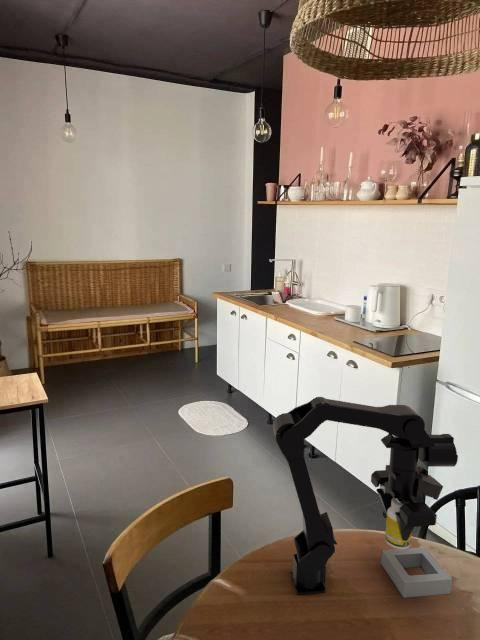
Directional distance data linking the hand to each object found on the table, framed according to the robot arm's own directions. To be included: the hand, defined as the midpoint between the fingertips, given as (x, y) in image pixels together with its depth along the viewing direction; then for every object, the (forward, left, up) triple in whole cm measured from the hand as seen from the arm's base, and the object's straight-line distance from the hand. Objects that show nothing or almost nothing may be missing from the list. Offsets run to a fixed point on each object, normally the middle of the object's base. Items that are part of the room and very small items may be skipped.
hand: (398, 531), depth 103 cm
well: (+6, +1, -13) cm, 14 cm away
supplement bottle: (0, 0, -3) cm, 3 cm away
